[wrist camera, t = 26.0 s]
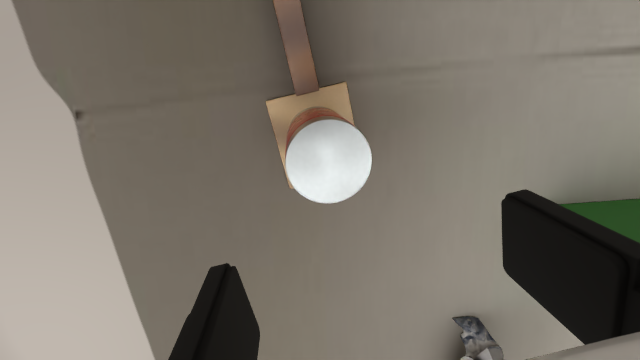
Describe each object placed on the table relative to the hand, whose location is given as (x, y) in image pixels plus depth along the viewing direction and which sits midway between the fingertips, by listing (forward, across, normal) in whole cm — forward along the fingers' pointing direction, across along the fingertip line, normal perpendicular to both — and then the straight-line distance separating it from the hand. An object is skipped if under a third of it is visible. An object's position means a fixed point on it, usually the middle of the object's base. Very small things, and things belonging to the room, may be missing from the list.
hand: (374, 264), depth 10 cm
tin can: (+24, 0, 0) cm, 24 cm away
